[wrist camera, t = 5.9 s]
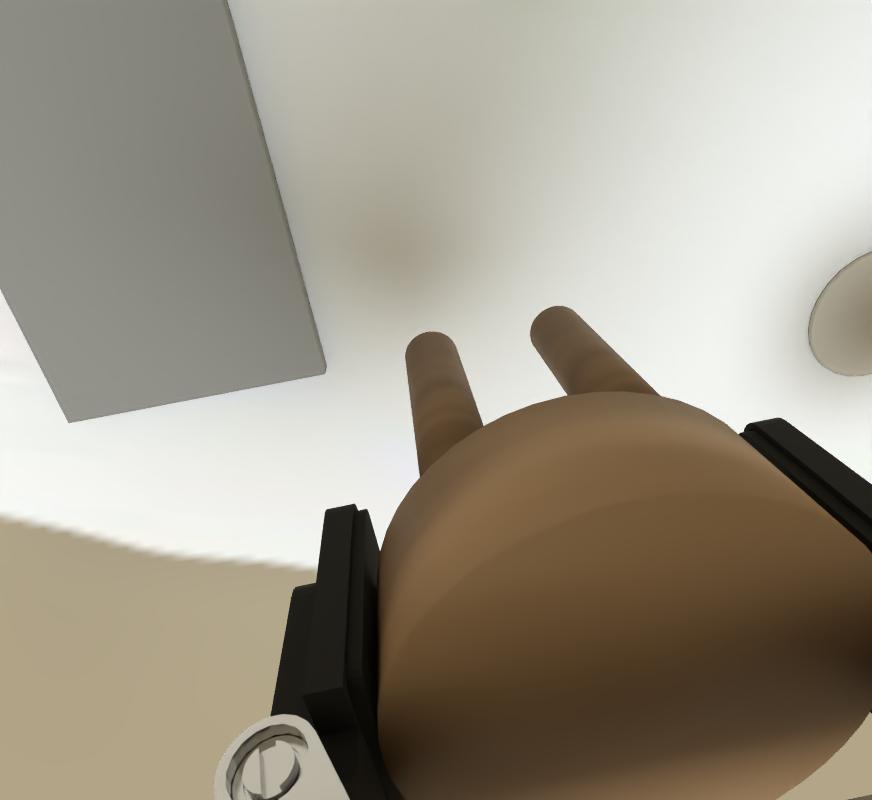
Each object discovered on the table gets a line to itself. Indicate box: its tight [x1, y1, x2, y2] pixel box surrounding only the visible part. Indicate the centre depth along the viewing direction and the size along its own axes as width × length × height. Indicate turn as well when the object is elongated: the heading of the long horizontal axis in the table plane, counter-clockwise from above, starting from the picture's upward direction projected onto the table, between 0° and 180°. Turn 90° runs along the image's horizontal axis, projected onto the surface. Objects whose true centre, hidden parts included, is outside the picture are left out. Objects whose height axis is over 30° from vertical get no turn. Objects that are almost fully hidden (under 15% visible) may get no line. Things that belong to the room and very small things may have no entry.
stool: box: [377, 306, 872, 800], centre depth 12 cm, size 7×7×10 cm
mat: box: [0, 0, 327, 423], centre depth 25 cm, size 20×13×1 cm, turn 10°
